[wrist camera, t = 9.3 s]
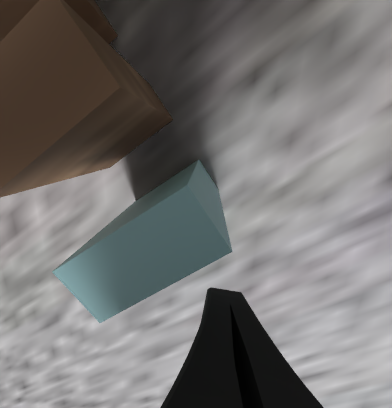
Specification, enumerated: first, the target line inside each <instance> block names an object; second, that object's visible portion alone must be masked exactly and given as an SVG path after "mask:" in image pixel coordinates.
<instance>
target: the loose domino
mask: <svg viewBox="0 0 392 408" xmlns="http://www.w3.org/2000/svg"><path fill="white" fill-rule="evenodd" d="M231 252H232V249H231V244H230V240H229V235H228V231H227V226H226V222H225V217H224V213H223V209H222V204H221V200H220V195H219V191H218V188H217V187H216V185H215V184H214V182H213V181H212V179H211V177H210V176H209V174H208V173H207V171H206V170H205V168H204V167H203V165H202V163H201V162H200V160H197V161H196V162H194V163H193V164H191V165H190V166H188V167H187V168H185V169H184V170H182V171H181V172H179V173H178V174H176V175H174V176H173V177H171V178H170V179H168V180H167V181H165V182H164V183H162V184H161V185H159V186H158V187H156V188H155V189H153V190H152V191H150V192H149V193H147V194H146V195H144V196H143V197H141V198H140V199H138V200H137V201H135V202H134V203H133V204H132V205H131V206H129V207H128V208H127V209H126V210H125V211H124V212H122V213H121V214H120V215H119V216H118V217H116V218H115V219H114V220H113V221H112V222H111V223H109V224H108V225H107V226H106V227H105V228H103V229H102V230H101V231H100V232H99V233H97V234H96V235H95V236H94V237H93V238H92V239H90V240H89V241H88V242H87V243H86V244H84V245H83V246H82V247H81V248H80V249H79V250H77V251H76V252H75V253H74V254H73V255H71V256H70V257H69V258H68V259H67V260H65V261H64V262H63V263H62V264H61V265H60V266H58V267H57V268H56V269H55V270H54V271H52V272H53V273H54V274H55V275H56V277H57V278H58V279H59V280H60V281H61V282H62V283H63V284H64V285H65V286H66V287H67V288H68V289H69V290H70V292H71V293H72V294H73V295H74V296H75V297H76V298H77V299H78V300H79V301H80V302H81V303H82V304H83V305H84V307H85V308H86V309H87V310H88V311H89V312H90V313H91V314H92V315H93V316H94V317H95V318H96V319H97V320H98V322H99V323H101V322H103V321H105V320H107V319H109V318H110V317H112V316H114V315H116V314H118V313H120V312H121V311H123V310H125V309H127V308H129V307H131V306H133V305H134V304H136V303H138V302H140V301H142V300H144V299H146V298H147V297H149V296H151V295H153V294H155V293H157V292H158V291H160V290H162V289H164V288H166V287H168V286H170V285H171V284H173V283H175V282H177V281H179V280H181V279H182V278H184V277H186V276H188V275H190V274H192V273H194V272H195V271H197V270H199V269H201V268H203V267H205V266H207V265H208V264H210V263H212V262H214V261H216V260H218V259H219V258H221V257H223V256H225V255H227V254H229V253H231Z"/></svg>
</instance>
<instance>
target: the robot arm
mask: <svg viewBox="0 0 392 408" xmlns="http://www.w3.org/2000/svg"><path fill="white" fill-rule="evenodd" d="M161 408H323V406H322V405H321V404H320V403H319V402H318V400H317V399H316V398H315V397H314V396H313V394H312V393H311V392H310V391H309V390H308V388H307V387H306V386H305V385H304V383H303V382H302V381H301V380H300V378H299V377H298V376H297V375H296V373H295V372H294V371H293V369H292V368H291V367H290V365H289V364H288V362H287V361H286V360H285V358H284V357H283V356H282V354H281V353H280V351H279V350H278V349H277V347H276V346H275V344H274V343H273V341H272V340H271V338H270V337H269V335H268V334H267V333H266V331H265V330H264V328H263V327H262V325H261V323H260V322H259V320H258V319H257V317H256V316H255V314H254V312H253V311H252V309H251V307H250V306H249V304H248V303H247V301H246V299H245V298H244V296H243V295H242V293H241V292H235V291H229V290H223V289H217V288H209V289H208V290H207V295H206V300H205V305H204V310H203V315H202V320H201V324H200V327H199V330H198V332H197V335H196V337H195V340H194V342H193V344H192V347H191V349H190V351H189V354H188V356H187V358H186V360H185V362H184V364H183V366H182V368H181V370H180V372H179V374H178V376H177V378H176V380H175V382H174V384H173V386H172V388H171V390H170V392H169V393H168V395H167V397H166V399H165V401H164V402H163V404H162V406H161Z"/></svg>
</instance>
